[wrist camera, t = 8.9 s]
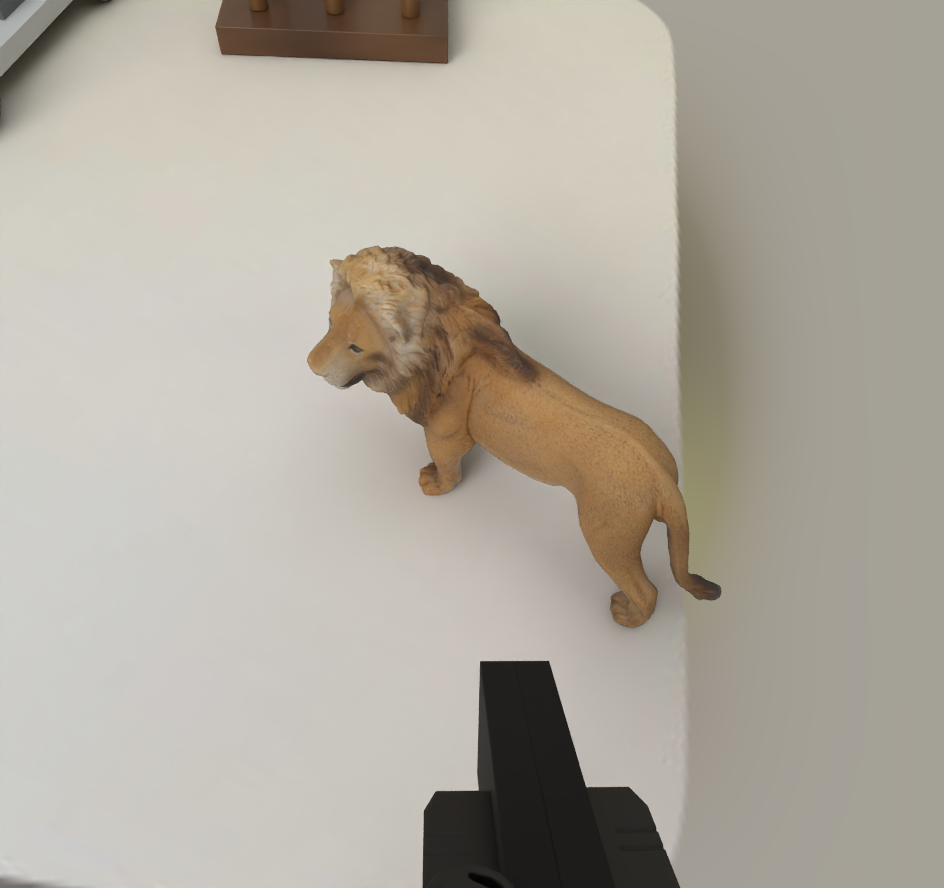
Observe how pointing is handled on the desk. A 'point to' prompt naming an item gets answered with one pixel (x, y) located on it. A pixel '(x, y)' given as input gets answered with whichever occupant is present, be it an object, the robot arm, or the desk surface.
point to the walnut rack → (336, 29)
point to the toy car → (24, 26)
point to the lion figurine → (504, 411)
